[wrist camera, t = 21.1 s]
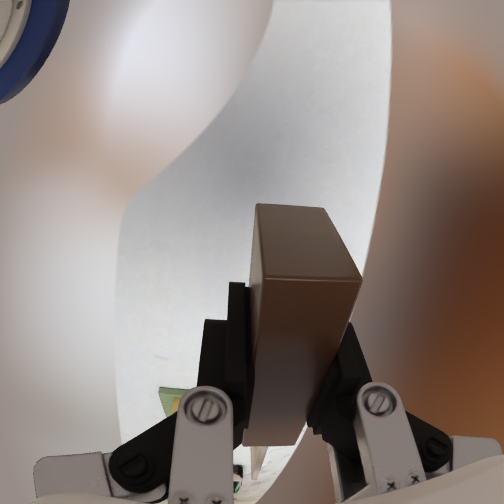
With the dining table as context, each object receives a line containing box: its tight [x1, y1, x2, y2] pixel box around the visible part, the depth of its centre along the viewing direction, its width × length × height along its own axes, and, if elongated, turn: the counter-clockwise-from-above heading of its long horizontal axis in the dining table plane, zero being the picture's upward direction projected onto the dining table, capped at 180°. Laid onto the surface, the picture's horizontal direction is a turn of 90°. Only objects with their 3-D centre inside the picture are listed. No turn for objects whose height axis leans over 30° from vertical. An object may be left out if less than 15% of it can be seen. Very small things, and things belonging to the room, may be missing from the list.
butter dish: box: [159, 388, 189, 417], centre depth 38 cm, size 8×16×4 cm, turn 176°
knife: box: [242, 203, 363, 480], centre depth 11 cm, size 15×2×4 cm, turn 176°
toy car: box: [233, 466, 243, 493], centre depth 52 cm, size 6×12×5 cm, turn 177°
